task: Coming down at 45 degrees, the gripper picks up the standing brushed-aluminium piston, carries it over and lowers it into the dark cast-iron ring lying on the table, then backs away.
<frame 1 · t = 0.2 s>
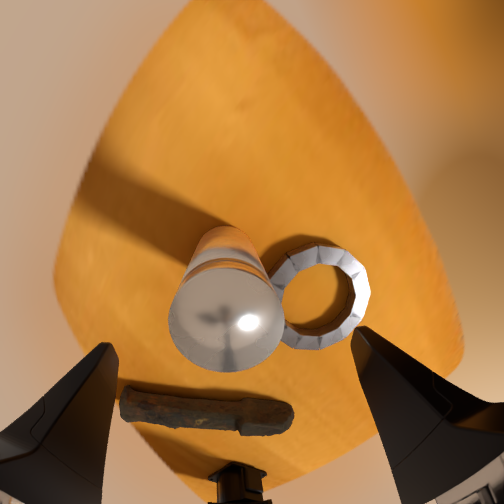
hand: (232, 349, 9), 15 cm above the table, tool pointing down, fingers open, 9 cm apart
ring: (314, 296, 26), on the table
piston: (225, 254, 24), on the table
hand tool: (207, 397, 28), on the table
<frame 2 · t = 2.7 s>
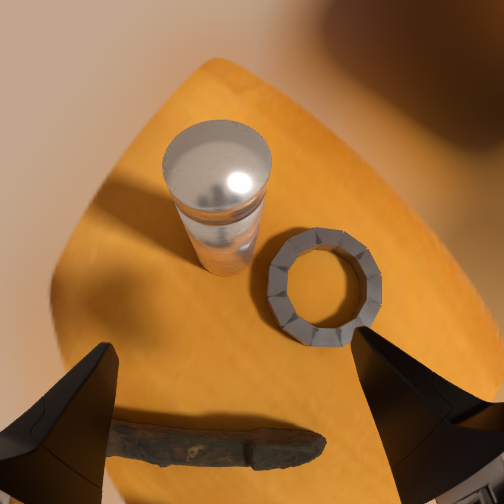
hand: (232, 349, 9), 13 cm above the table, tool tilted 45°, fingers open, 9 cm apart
ring: (323, 288, 24), on the table
piston: (225, 248, 25), on the table
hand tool: (207, 433, 20), on the table
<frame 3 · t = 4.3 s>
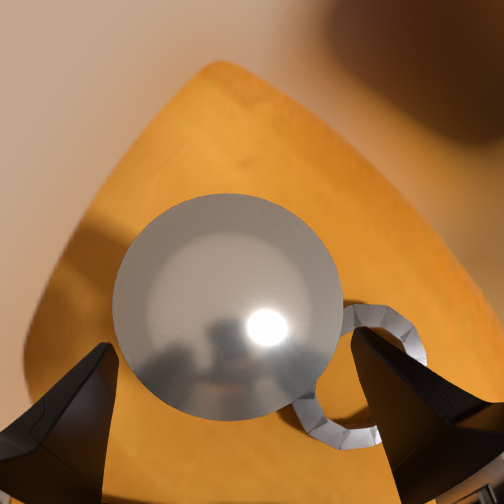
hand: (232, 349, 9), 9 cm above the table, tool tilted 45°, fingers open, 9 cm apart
ring: (358, 377, 17), on the table
piston: (234, 331, 18), on the table
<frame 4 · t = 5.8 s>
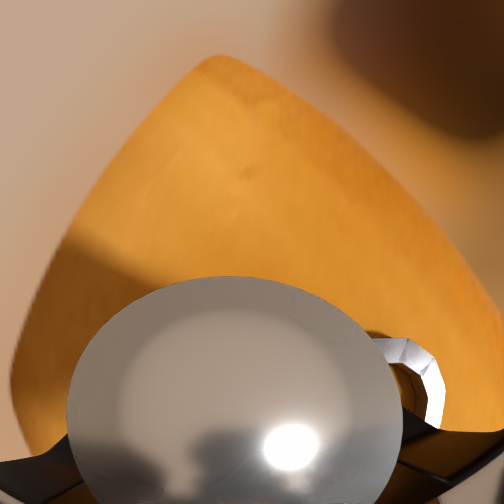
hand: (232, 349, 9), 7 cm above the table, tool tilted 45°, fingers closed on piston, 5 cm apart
ring: (372, 413, 15), on the table
piston: (236, 369, 15), on the table, touching gripper
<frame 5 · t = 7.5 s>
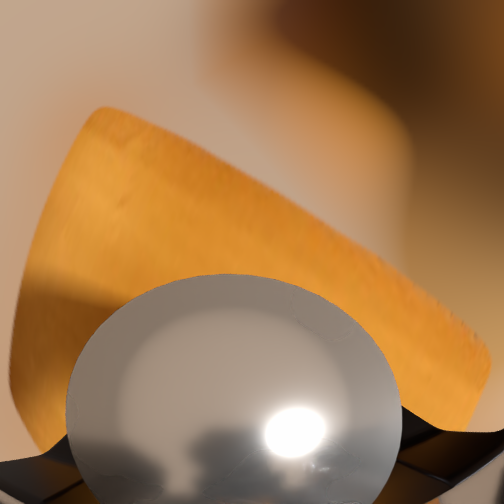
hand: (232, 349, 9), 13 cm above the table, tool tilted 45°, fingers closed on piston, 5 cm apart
piston: (236, 368, 15), point 7 cm above the table, touching gripper
when the fingers open (8 cm above the table, at t = 9.2 s): piston drops 1 cm, resting in ring.
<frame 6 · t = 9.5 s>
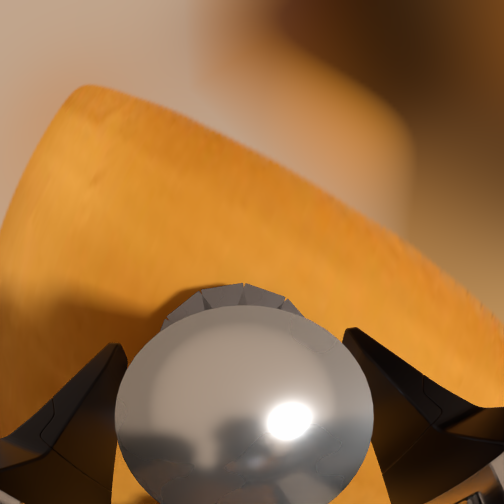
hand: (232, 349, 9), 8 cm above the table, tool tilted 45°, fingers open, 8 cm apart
ring: (237, 367, 17), on the table
piston: (237, 369, 17), resting in ring
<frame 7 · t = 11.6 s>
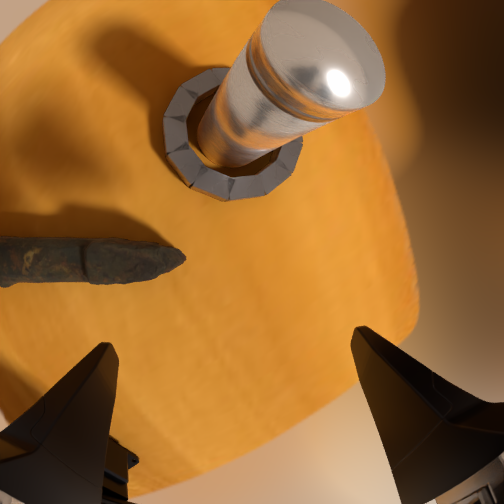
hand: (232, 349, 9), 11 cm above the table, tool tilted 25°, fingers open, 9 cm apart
ring: (231, 133, 20), on the table
piston: (230, 135, 20), resting in ring
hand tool: (56, 247, 17), on the table
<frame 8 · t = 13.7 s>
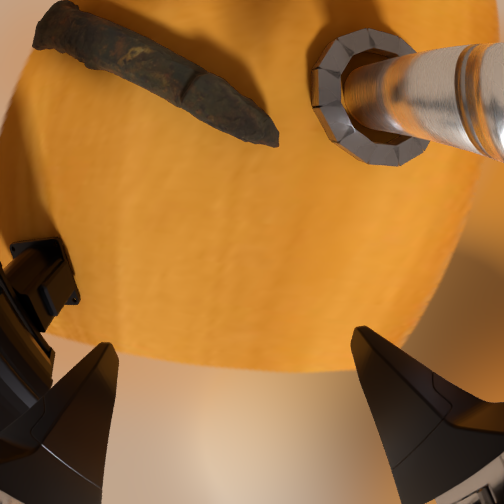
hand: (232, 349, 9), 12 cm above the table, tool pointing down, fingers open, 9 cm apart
ring: (376, 96, 17), on the table
piston: (374, 97, 17), resting in ring
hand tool: (161, 64, 15), on the table
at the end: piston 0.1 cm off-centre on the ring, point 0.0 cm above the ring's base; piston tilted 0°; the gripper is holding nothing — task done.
